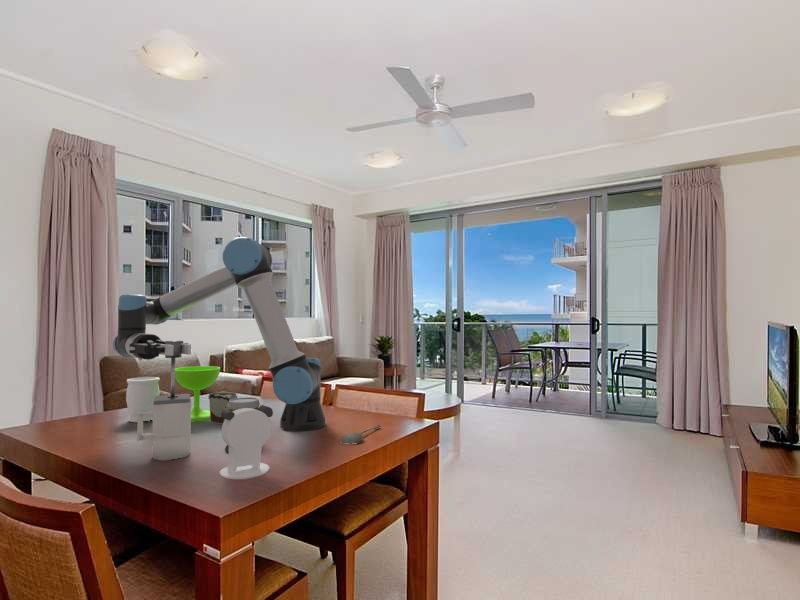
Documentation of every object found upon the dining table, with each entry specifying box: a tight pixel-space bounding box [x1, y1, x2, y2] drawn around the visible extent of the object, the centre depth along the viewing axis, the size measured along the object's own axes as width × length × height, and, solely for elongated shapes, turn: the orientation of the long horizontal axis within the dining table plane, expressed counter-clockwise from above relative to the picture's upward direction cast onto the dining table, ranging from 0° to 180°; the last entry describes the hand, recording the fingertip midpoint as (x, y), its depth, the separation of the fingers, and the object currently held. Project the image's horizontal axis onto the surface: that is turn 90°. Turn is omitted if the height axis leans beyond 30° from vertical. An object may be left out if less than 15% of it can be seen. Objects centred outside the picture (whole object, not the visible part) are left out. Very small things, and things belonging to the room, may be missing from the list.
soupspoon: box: [339, 424, 382, 444], centre depth 145 cm, size 22×3×7 cm
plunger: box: [164, 340, 183, 398], centre depth 126 cm, size 4×4×17 cm
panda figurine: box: [219, 404, 274, 480], centre depth 113 cm, size 12×11×15 cm
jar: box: [125, 376, 161, 423], centre depth 167 cm, size 11×10×15 cm
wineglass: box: [175, 365, 221, 423], centre depth 172 cm, size 16×16×18 cm
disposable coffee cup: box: [227, 396, 261, 411], centre depth 141 cm, size 10×10×12 cm
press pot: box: [136, 393, 192, 461], centre depth 124 cm, size 13×9×16 cm
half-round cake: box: [208, 391, 238, 425], centre depth 165 cm, size 12×6×10 cm, turn 58°
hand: (180, 349), depth 123 cm, fingers closed on plunger, 4 cm apart
